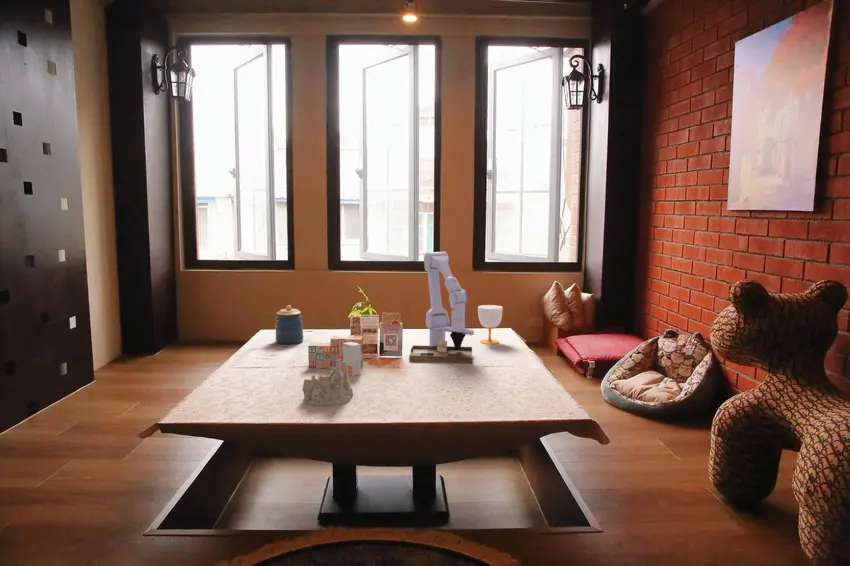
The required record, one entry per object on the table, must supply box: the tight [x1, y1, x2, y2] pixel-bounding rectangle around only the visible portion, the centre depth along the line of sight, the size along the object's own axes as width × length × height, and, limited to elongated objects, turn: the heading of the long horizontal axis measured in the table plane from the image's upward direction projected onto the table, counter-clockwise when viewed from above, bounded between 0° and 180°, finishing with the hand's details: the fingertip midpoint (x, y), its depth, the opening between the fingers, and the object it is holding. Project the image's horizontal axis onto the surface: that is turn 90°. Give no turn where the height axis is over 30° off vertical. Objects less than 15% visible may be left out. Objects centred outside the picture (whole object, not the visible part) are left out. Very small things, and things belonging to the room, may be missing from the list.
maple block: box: [437, 340, 448, 352], centre depth 262 cm, size 4×4×4 cm
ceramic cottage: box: [302, 360, 354, 407], centre depth 206 cm, size 16×16×15 cm
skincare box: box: [343, 342, 362, 377], centre depth 236 cm, size 6×4×12 cm
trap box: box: [408, 344, 473, 364], centre depth 259 cm, size 12×26×4 cm, turn 85°
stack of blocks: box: [307, 335, 364, 369], centre depth 246 cm, size 21×6×12 cm, turn 87°
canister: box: [274, 304, 304, 345], centre depth 289 cm, size 13×13×18 cm
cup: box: [477, 304, 504, 345], centre depth 290 cm, size 12×12×17 cm
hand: (457, 349), depth 261 cm, fingers closed
